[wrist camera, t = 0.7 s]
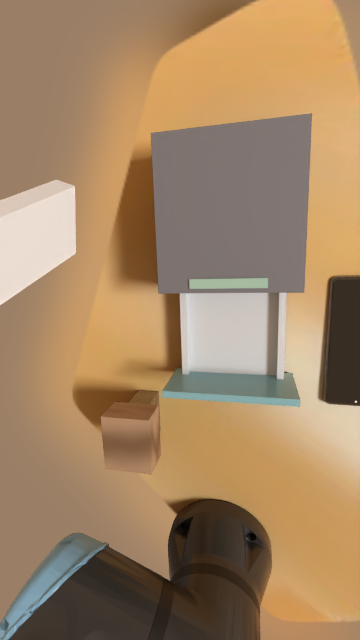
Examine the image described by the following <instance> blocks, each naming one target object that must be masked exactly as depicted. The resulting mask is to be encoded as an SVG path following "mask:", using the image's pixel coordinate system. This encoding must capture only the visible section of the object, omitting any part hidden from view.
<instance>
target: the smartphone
mask: <svg viewBox="0 0 360 640" xmlns="http://www.w3.org/2000/svg"><path fill="white" fill-rule="evenodd" d="M325 358H326V361H325V373H324V396H323V398H324V401H325V402H326V403H328V404H337V405H352V406H360V275H355V276H335V277H333V278H332V279H331V281H330V293H329V310H328V328H327V345H326V355H325Z"/></svg>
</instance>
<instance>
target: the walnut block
mask: <svg viewBox="0 0 360 640" xmlns="http://www.w3.org/2000/svg"><path fill="white" fill-rule="evenodd" d="M101 427H102V438H103V449H104V459H105V469H112V470H120V471H128V472H136V473H144V474H152V473H153V471H154V468H155V466H156V464H157V462H158V460H159V458H160V455H161V445H160V426H159V406H158V405H153V404H139V403H126V402H114V403H113V404H112V405H111V406H110V407H109V408H108V409H107V410H106V411H105V412H104V413H103V415H102V416H101Z"/></svg>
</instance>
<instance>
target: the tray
mask: <svg viewBox="0 0 360 640" xmlns="http://www.w3.org/2000/svg"><path fill="white" fill-rule="evenodd" d="M286 296H287V293H180V319H181V348H182V368H177V369H176V371H175V372H174V374H173V375H172V377H171V378H170V380H169V381H168V383H167V384H166V386H165V388H164V389H163V391H162V397H163V398H178V399H192V400H207V401H222V402H237V403H252V404H267V405H282V406H297V407H300V397H299V394H298V391H297V387H296V384H295V381H294V378H293V374H292V373H284V359H285V327H286Z"/></svg>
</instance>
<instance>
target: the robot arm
mask: <svg viewBox="0 0 360 640" xmlns="http://www.w3.org/2000/svg"><path fill="white" fill-rule="evenodd" d="M75 230H76V229H75V186H73V185H70V184H67V183H64V182H62V181H59V180H54V181H52V182H49V183H46V184H43V185H41V186H38V187H35V188H33V189H30V190H28V191H25V192H22V193H19V194H17V195H14V196H11V197H8V198H6V199H3V200H0V305H1V304H3V303H4V302H5V301H7V300H8V299H10V298H11V297H13V296H14V295H16V294H17V293H19V292H20V291H22V290H23V289H24V288H26V287H27V286H29V285H30V284H32V283H33V282H35V281H36V280H38V279H39V278H41V277H42V276H43V275H45V274H46V273H48V272H49V271H51V270H52V269H54V268H55V267H57V266H58V265H59V264H61V263H62V262H64V261H65V260H67V259H68V258H70V257H71V256H73V255H74V254H76V231H75ZM108 546H109V544H108V543H102V542H99V541H97V540H95V539H93V538H91V537H89V536H87V535H84V534H82V533H73V534H71V535H69V536H67V537H65V538H64V539H63V540H62V541H60V542H59V543H58V544H57V545H56V546H55V547H54V549H52V551H51V552H50V553H49V554H48V555H47V556H46V558H45V559H44V560H43V561H42V562H41V564H40V565H39V566H38V567H37V569H36V570H35V571H34V573H33V574H32V575H31V577H30V578H29V579H28V581H27V582H26V583H25V585H24V586H23V588H22V589H21V591H20V592H19V594H18V595H17V596H16V598H15V599H14V601H13V602H12V604H11V605H10V607H9V609H8V610H7V612H6V615H5V617H4V618H3V620H2V622H1V623H0V640H260V605H261V602H262V598H263V595H264V592H265V589H266V586H267V583H268V580H269V577H270V574H271V568H272V553H271V544H270V540H269V537H268V535H267V533H266V531H265V529H264V528H263V526H262V525H261V523H260V522H259V521H258V520H257V519H256V518H255V517H254V516H253V515H251V514H250V513H249V512H247V511H246V510H244V509H243V508H241V507H239V506H237V505H234V504H231V503H228V502H224V501H219V500H204V501H199V502H195V503H193V504H190V505H188V506H187V507H185V508H184V509H183V510H182V511H180V513H179V514H178V515H177V516H176V518H175V520H174V522H173V525H172V528H171V532H170V535H169V540H168V557H169V574H170V581H169V580H167V579H165V578H164V577H162V576H161V575H159V574H157V573H155V572H153V571H152V570H150V569H148V568H146V567H144V566H142V565H141V564H139V563H137V562H135V561H133V560H131V559H130V558H128V557H126V556H124V555H123V554H121V553H119V552H117V551H115V550H113V549H112V548H110V547H108Z"/></svg>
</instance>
